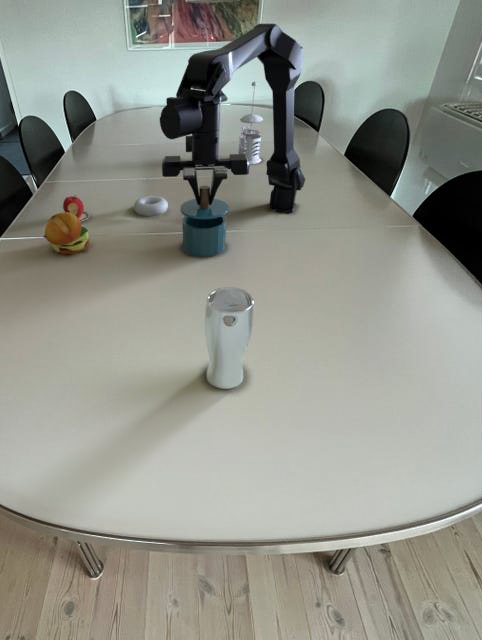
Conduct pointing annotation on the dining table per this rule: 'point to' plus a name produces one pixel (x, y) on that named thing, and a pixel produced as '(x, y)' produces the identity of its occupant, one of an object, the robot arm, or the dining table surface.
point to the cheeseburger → (66, 233)
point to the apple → (75, 207)
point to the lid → (204, 206)
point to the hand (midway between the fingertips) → (204, 204)
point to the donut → (150, 206)
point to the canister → (204, 236)
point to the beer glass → (227, 334)
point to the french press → (250, 137)
